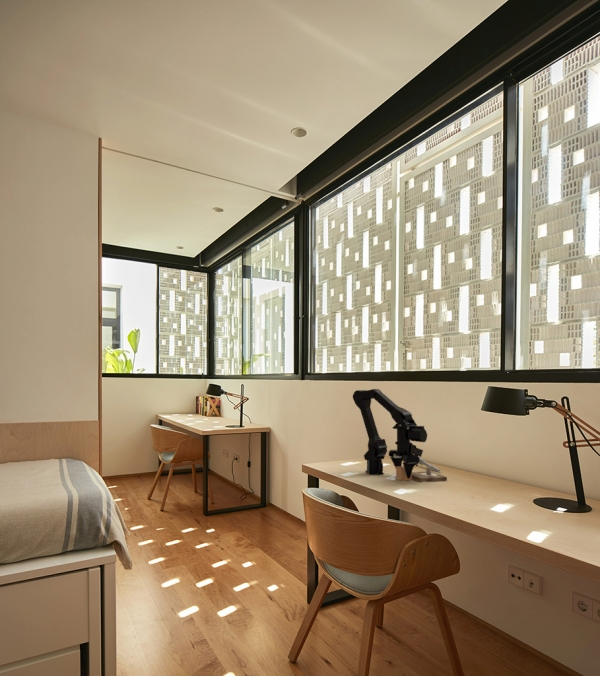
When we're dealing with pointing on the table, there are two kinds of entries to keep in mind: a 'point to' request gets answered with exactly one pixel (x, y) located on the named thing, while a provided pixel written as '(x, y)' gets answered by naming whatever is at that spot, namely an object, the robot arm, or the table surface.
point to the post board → (427, 475)
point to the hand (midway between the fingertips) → (403, 476)
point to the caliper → (428, 464)
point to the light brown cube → (402, 473)
